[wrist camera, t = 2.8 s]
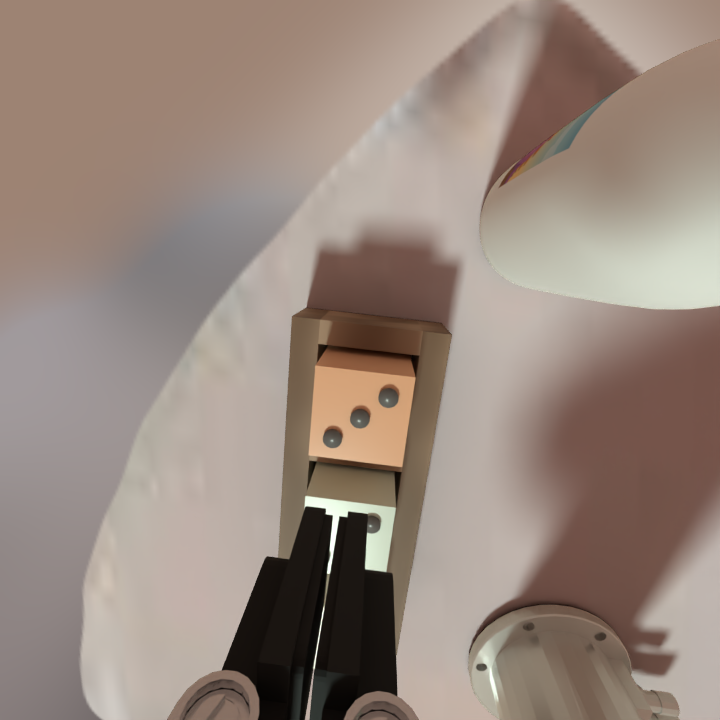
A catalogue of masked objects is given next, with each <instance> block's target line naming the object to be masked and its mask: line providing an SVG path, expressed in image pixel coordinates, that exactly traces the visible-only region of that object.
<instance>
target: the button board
mask: <svg viewBox="0 0 720 720" xmlns="http://www.w3.org/2000/svg"><path fill="white" fill-rule="evenodd" d="M451 337H452V334H451V333H450V332H449V331H448V330H447V329H446V328H445V327H444V326H443V324H442V323H436V322H428V321H419V320H410V319H401V318H392V317H384V316H375V315H366V314H357V313H349V312H340V311H331V310H322V309H313V308H305V309H303V310H302V311H300V312H298V313H297V314H295V315H294V316H292V326H291V343H290V360H289V378H288V395H287V412H286V430H285V447H284V465H283V482H282V499H281V517H280V534H279V551H278V558H283V559H289V558H290V555H291V552H292V548H293V545H294V542H295V539H296V535H297V532H298V529H299V525H300V522H301V519H302V516H303V512H304V508H305V496H306V493H307V490H308V487H309V484H310V481H311V478H312V475H313V472H314V469H315V466H316V463H317V461H318V462H326V463H333V464H341V465H349V466H357V467H365V468H373V469H381V470H389V471H395V474H394V477H395V498H396V511H395V517H394V524H393V531H392V537H391V544H390V550H389V557H388V564H387V570H386V572H390V573H392V574H393V585H394V614H395V642H396V655H397V649H398V644H399V638H400V632H401V626H402V621H403V615H404V609H405V603H406V597H407V592H408V586H409V580H410V574H411V568H412V563H413V557H414V551H415V545H416V539H417V534H418V528H419V522H420V516H421V511H422V505H423V499H424V493H425V487H426V482H427V476H428V470H429V464H430V458H431V453H432V447H433V441H434V435H435V429H436V424H437V418H438V412H439V406H440V400H441V395H442V389H443V383H444V377H445V372H446V366H447V360H448V354H449V348H450V343H451ZM327 345H333V346H341V347H350V348H358V349H367V350H375V351H384V352H393V353H401V354H410V355H412V358H411V362H412V366H413V369H414V373H415V377H416V379H415V385H414V392H413V399H412V405H411V412H410V418H409V425H408V432H407V438H406V445H405V451H404V458H403V465H402V467H397V466H389V465H381V464H373V463H365V462H357V461H349V460H342V459H334V458H326V457H318V456H310V455H309V442H310V429H311V416H312V403H313V390H314V377H315V365H316V364H317V362H318V361H319V359H320V358H321V356H322V355H323V353H324V352H325V350H326V348H327Z"/></svg>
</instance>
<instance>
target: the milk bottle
mask: <svg viewBox="0 0 720 720" xmlns="http://www.w3.org/2000/svg"><path fill="white" fill-rule="evenodd" d="M479 230H480V240H481V245H482V249H483V251H484V254H485V256H486V258H487V260H488V261H489V263H490V265H491V266H492V267H493V268H494V270H495V271H496V272H497V273H498V274H500V275H501V276H502V277H503V278H505V279H506V280H508V281H510V282H512V283H514V284H517V285H519V286H523V287H526V288H530V289H535V290H539V291H544V292H550V293H555V294H560V295H565V296H570V297H576V298H581V299H587V300H593V301H598V302H604V303H610V304H616V305H623V306H632V307H640V308H648V309H696V308H705V307H713V306H720V39H718V40H715V41H712V42H709V43H707V44H704V45H701V46H698V47H696V48H694V49H691V50H688V51H686V52H683V53H681V54H679V55H678V56H676V57H674V58H672V59H670V60H667V61H666V62H664V63H661V64H660V65H658V66H656V67H654V68H652V69H650V70H648V71H646V72H645V73H643V74H641V75H640V76H638V77H637V78H635V79H633V80H632V81H630V82H629V83H627V84H626V85H624V86H623V87H621V88H620V89H618V90H616V91H615V92H613V93H612V94H610V95H609V96H607V97H606V98H604V99H602V100H601V101H600V102H598V103H597V104H595V105H594V106H593V107H591V108H590V109H588V110H587V111H586V112H584V113H583V114H581V115H580V116H579V117H577V118H576V119H574V120H573V121H572V122H570V123H569V124H567V125H566V126H565V127H563V128H562V129H561V130H559V131H558V132H556V133H555V134H554V135H552V136H551V137H550V138H548V139H547V140H546V141H544V142H543V143H541V144H540V145H539V146H537V147H536V148H535V149H533V150H532V151H531V152H529V153H528V154H527V155H525V156H524V157H523V158H521V159H520V160H519V161H517V162H516V163H515V164H513V165H512V166H511V167H510V168H509V169H508V170H507V171H505V172H504V173H503V174H502V175H501V176H500V178H499V179H498V180H497V181H496V182H495V184H494V185H493V187H492V188H491V190H490V192H489V193H488V195H487V197H486V200H485V202H484V205H483V208H482V212H481V217H480V229H479Z"/></svg>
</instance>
